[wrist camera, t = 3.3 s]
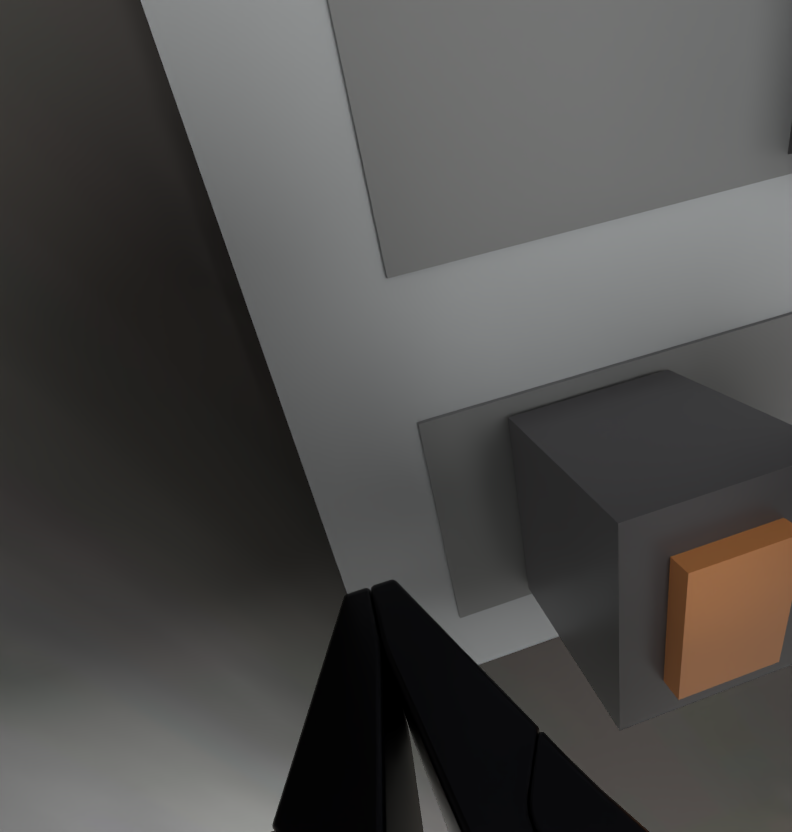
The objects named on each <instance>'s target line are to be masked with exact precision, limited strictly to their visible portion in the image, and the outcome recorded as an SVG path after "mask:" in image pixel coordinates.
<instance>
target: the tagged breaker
mask: <svg viewBox="0 0 792 832" xmlns="http://www.w3.org/2000/svg"><path fill="white" fill-rule="evenodd" d="M508 420H509V428H510V437H511V445H512V453H513V462H514V470H515V478H516V487H517V495H518V503H519V512H520V520H521V528H522V537H523V545H524V553H525V562H526V570H527V579H528V587H529V590H530V591H531V593H532V594H533V596H534V597H535V599H536V601H537V602H538V604H539V605H540V607H541V608H542V610H543V611H544V613H545V615H546V616H547V618H548V619H549V621H550V622H551V624H552V626H553V627H554V629H555V630H556V632H557V633H558V635H559V636H560V638H561V640H562V641H563V643H564V644H565V646H566V647H567V649H568V651H569V652H570V654H571V655H572V657H573V658H574V660H575V661H576V663H577V665H578V666H579V668H580V669H581V671H582V672H583V674H584V676H585V677H586V679H587V680H588V682H589V683H590V685H591V686H592V688H593V690H594V691H595V693H596V694H597V696H598V697H599V699H600V701H601V702H602V704H603V705H604V707H605V708H606V710H607V711H608V713H609V715H610V716H611V718H612V719H613V721H614V722H615V724H616V725H617V727H618V729H619V730H623V729H625V728H628V727H631V726H633V725H636V724H638V723H641V722H644V721H646V720H649V719H652V718H654V717H657V716H659V715H662V714H665V713H667V712H670V711H672V710H675V709H678V708H680V707H683V706H686V705H688V704H691V703H693V702H696V701H699V700H701V699H704V698H707V697H709V696H712V695H714V694H717V693H720V692H722V691H725V690H727V689H730V688H733V687H735V686H738V685H741V684H743V683H746V682H748V681H751V680H754V679H756V678H759V677H762V676H764V675H767V674H769V673H772V672H775V671H777V670H780V669H782V668H785V667H788V666H790V665H792V425H791V424H788V423H786V422H784V421H782V420H780V419H777V418H775V417H773V416H771V415H768V414H766V413H764V412H762V411H760V410H757V409H755V408H753V407H751V406H748V405H746V404H744V403H742V402H739V401H737V400H735V399H733V398H731V397H728V396H726V395H724V394H722V393H719V392H717V391H715V390H713V389H711V388H708V387H706V386H704V385H702V384H699V383H697V382H695V381H693V380H690V379H688V378H686V377H684V376H682V375H679V374H677V373H675V372H673V371H670V370H665V371H661V372H658V373H655V374H651V375H648V376H645V377H641V378H638V379H635V380H631V381H628V382H625V383H621V384H618V385H614V386H611V387H608V388H604V389H601V390H598V391H594V392H591V393H588V394H584V395H581V396H578V397H574V398H571V399H568V400H564V401H561V402H558V403H554V404H551V405H548V406H544V407H541V408H538V409H534V410H531V411H528V412H524V413H521V414H518V415H514V416H511V417H508Z"/></svg>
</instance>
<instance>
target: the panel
mask: <svg viewBox="0 0 792 832" xmlns="http://www.w3.org/2000/svg"><path fill="white" fill-rule="evenodd" d="M141 3H142V6H143V9H144V12H145V15H146V18H147V20H148V23H149V26H150V29H151V32H152V35H153V38H154V41H155V43H156V46H157V49H158V52H159V55H160V58H161V61H162V64H163V66H164V69H165V72H166V75H167V78H168V81H169V84H170V86H171V89H172V92H173V95H174V98H175V101H176V104H177V107H178V109H179V112H180V115H181V118H182V121H183V124H184V127H185V130H186V132H187V135H188V138H189V141H190V144H191V147H192V150H193V153H194V155H195V158H196V161H197V164H198V167H199V170H200V173H201V175H202V178H203V181H204V184H205V187H206V190H207V193H208V196H209V198H210V201H211V204H212V207H213V210H214V213H215V216H216V219H217V221H218V224H219V227H220V230H221V233H222V236H223V239H224V241H225V244H226V247H227V250H228V253H229V256H230V259H231V262H232V264H233V267H234V270H235V273H236V276H237V279H238V282H239V285H240V287H241V290H242V293H243V296H244V299H245V302H246V305H247V308H248V310H249V313H250V316H251V319H252V322H253V325H254V328H255V330H256V333H257V336H258V339H259V342H260V345H261V348H262V351H263V353H264V356H265V359H266V362H267V365H268V368H269V371H270V374H271V376H272V379H273V382H274V385H275V388H276V391H277V394H278V397H279V399H280V402H281V405H282V408H283V411H284V414H285V417H286V419H287V422H288V425H289V428H290V431H291V434H292V437H293V440H294V442H295V445H296V448H297V451H298V454H299V457H300V460H301V463H302V465H303V468H304V471H305V474H306V477H307V480H308V483H309V486H310V488H311V491H312V494H313V497H314V500H315V503H316V506H317V508H318V511H319V514H320V517H321V520H322V523H323V526H324V529H325V531H326V534H327V537H328V540H329V543H330V546H331V549H332V552H333V554H334V557H335V560H336V563H337V566H338V569H339V572H340V574H341V577H342V580H343V583H344V586H345V589H346V592H347V594H348V593H351V592H354V591H357V590H360V589H363V588H369V589H370V591H371V587H372V586H373V585H375V584H378V583H382V582H385V581H388V580H391V579H393V580H395V581H397V582H398V583H399V584H400V585H401V586H402V587H403V588H404V589H405V590H406V591H407V592H408V593H409V594H410V595H411V596H412V597H413V598H414V600H415V601H416V602H417V603H418V604H419V605H420V606H421V607H422V608H423V609H424V610H425V611H426V612H427V613H428V614H429V615H430V616H431V617H432V618H433V619H434V620H435V621H436V622H437V623H438V624H439V625H440V626H441V627H442V628H443V629H444V630H445V631H446V632H447V634H448V635H449V636H450V637H451V638H452V639H453V640H454V641H455V642H456V643H457V644H458V645H459V646H460V647H461V648H462V649H463V650H464V651H465V652H466V653H467V654H468V655H469V656H470V657H471V658H472V659H473V660H474V661H475V662H476V663H477V664H478V665H479V664H482V663H485V662H488V661H491V660H493V659H496V658H499V657H502V656H505V655H507V654H510V653H513V652H516V651H519V650H522V649H524V648H527V647H530V646H533V645H536V644H539V643H541V642H544V641H547V640H550V639H553V638H555V637H558V636H559V635H558V633H557V632H556V630H555V629H554V627H553V626H552V624H551V622H550V621H549V619H548V618H547V616H546V615H545V613H544V611H543V610H542V608H541V607H540V605H539V604H538V602H537V601H536V599H535V597H534V596H533V594H532V593H531V591H530V590H529V587H528V579H527V570H526V562H525V553H524V545H523V537H522V528H521V520H520V512H519V503H518V495H517V487H516V478H515V470H514V462H513V453H512V445H511V437H510V428H509V420H508V417H511V416H514V415H518V414H521V413H524V412H528V411H531V410H534V409H538V408H541V407H544V406H548V405H551V404H554V403H558V402H561V401H564V400H568V399H571V398H574V397H578V396H581V395H584V394H588V393H591V392H594V391H598V390H601V389H604V388H608V387H611V386H614V385H618V384H621V383H625V382H628V381H631V380H635V379H638V378H641V377H645V376H648V375H651V374H655V373H658V372H661V371H665V370H670V371H673V372H675V373H677V374H679V375H682V376H684V377H686V378H688V379H690V380H693V381H695V382H697V383H699V384H702V385H704V386H706V387H708V388H711V389H713V390H715V391H717V392H719V393H722V394H724V395H726V396H728V397H731V398H733V399H735V400H737V401H739V402H742V403H744V404H746V405H748V406H751V407H753V408H755V409H757V410H760V411H762V412H764V413H766V414H768V415H771V416H773V417H775V418H777V419H780V420H782V421H784V422H786V423H788V424H791V425H792V0H141Z"/></svg>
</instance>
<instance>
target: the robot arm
mask: <svg viewBox="0 0 792 832" xmlns="http://www.w3.org/2000/svg"><path fill="white" fill-rule="evenodd" d="M405 716H406V717H405ZM406 719H407V721H406ZM407 722H408V725H409V728H410V731H411V734H412V737H413V740H414V743H415V745H416V748H417V751H418V753H419V756H420V758H421V761H422V764H423V766H424V769H425V771H426V774H427V777H428V779H429V782H430V784H431V787H432V790H433V792H434V795H435V797H436V800H437V803H438V805H439V808H440V810H441V813H442V816H443V818H444V821H445V823H446V826H447V829H448V831H449V832H649V831H648V830H647V829H646V828H645V827H643V826H642V825H641V824H640V823H639V822H638V821H637V820H635V819H634V818H633V817H632V816H631V815H630V814H629V813H627V812H626V811H625V810H624V809H623V808H622V807H621V806H619V805H618V804H617V803H616V802H615V801H614V800H613V799H611V798H610V797H609V796H608V795H607V794H606V793H605V792H603V791H602V790H601V789H600V788H599V787H598V786H597V785H596V784H595V783H594V782H593V781H592V780H591V779H590V778H589V777H588V776H587V775H586V774H585V773H584V772H583V771H582V770H581V769H580V768H579V767H578V766H577V765H576V764H574V763H573V762H572V761H571V760H570V759H569V758H568V757H567V756H566V755H565V754H564V753H563V752H562V751H561V750H560V749H559V748H558V747H557V745H556V744H555V743H554V742H553V741H552V740H551V739H550V738H549V737H548V736H547V735H546V734H545V733H544V732H540V733H539V728H538V726H537V725H536V724H535V723H534V722H533V721H532V720H531V719H530V718H529V717H528V716H527V715H526V714H525V713H524V712H523V711H522V710H521V709H520V708H519V707H518V706H517V705H516V704H515V703H514V702H513V701H512V700H511V698H510V697H509V696H508V695H507V694H506V693H505V692H504V691H503V690H502V689H501V688H500V687H499V686H498V685H497V684H496V683H495V682H494V681H493V680H492V679H491V678H490V677H489V676H488V675H487V674H486V673H485V672H484V671H483V670H482V669H481V668H480V667H479V665H478V664H477V663H476V662H475V661H474V660H473V659H472V658H471V657H470V656H469V655H468V654H467V653H466V652H465V651H464V650H463V649H462V648H461V647H460V646H459V645H458V644H457V643H456V642H455V641H454V640H453V639H452V638H451V637H450V636H449V635H448V634H447V632H446V631H445V630H444V629H443V628H442V627H441V626H440V625H439V624H438V623H437V622H436V621H435V620H434V619H433V618H432V617H431V616H430V615H429V614H428V613H427V612H426V611H425V610H424V609H423V608H422V607H421V606H420V605H419V604H418V603H417V602H416V601H415V600H414V598H413V597H412V596H411V595H410V594H409V593H408V592H407V591H406V590H405V589H404V588H403V587H402V586H401V585H400V584H399V583H398V582H397V581H395V580H393V579H391V580H388V581H385V582H382V583H378V584H375V585H373V586H372V587H371V591H370V589H369V588H363V589H360V590H357V591H354V592H351V593H348V594H346V595H345V597H344V599H343V602H342V605H341V608H340V611H339V614H338V618H337V621H336V624H335V627H334V630H333V634H332V637H331V640H330V643H329V646H328V649H327V653H326V656H325V659H324V662H323V665H322V669H321V672H320V675H319V678H318V681H317V684H316V688H315V691H314V694H313V697H312V700H311V704H310V707H309V710H308V713H307V716H306V719H305V723H304V726H303V729H302V732H301V735H300V739H299V742H298V745H297V748H296V751H295V754H294V758H293V761H292V764H291V767H290V770H289V774H288V777H287V780H286V783H285V786H284V789H283V793H282V796H281V799H280V802H279V805H278V809H277V812H276V815H275V818H274V821H273V825H272V826H273V829H274V831H272V832H423V825H422V818H421V811H420V804H419V797H418V790H417V783H416V776H415V769H414V762H413V755H412V748H411V742H410V736H409V730H408V725H407Z"/></svg>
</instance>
